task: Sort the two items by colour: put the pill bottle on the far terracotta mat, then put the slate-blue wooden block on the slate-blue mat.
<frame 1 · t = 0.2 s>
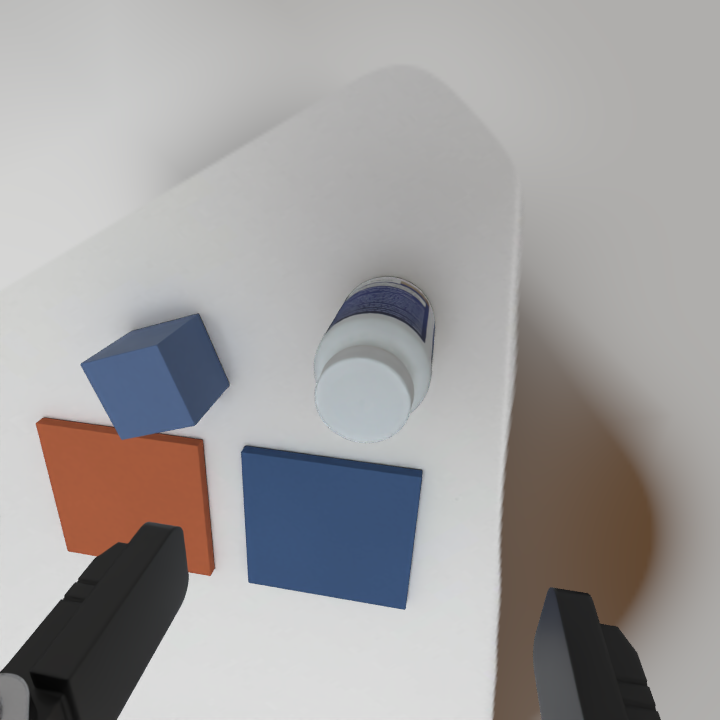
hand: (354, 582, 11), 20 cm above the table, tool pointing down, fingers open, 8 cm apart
blue block: (180, 358, 33), on the table
pill bottle: (388, 319, 30), on the table
blue mat: (329, 527, 37), on the table
terracotta mat: (133, 496, 39), on the table
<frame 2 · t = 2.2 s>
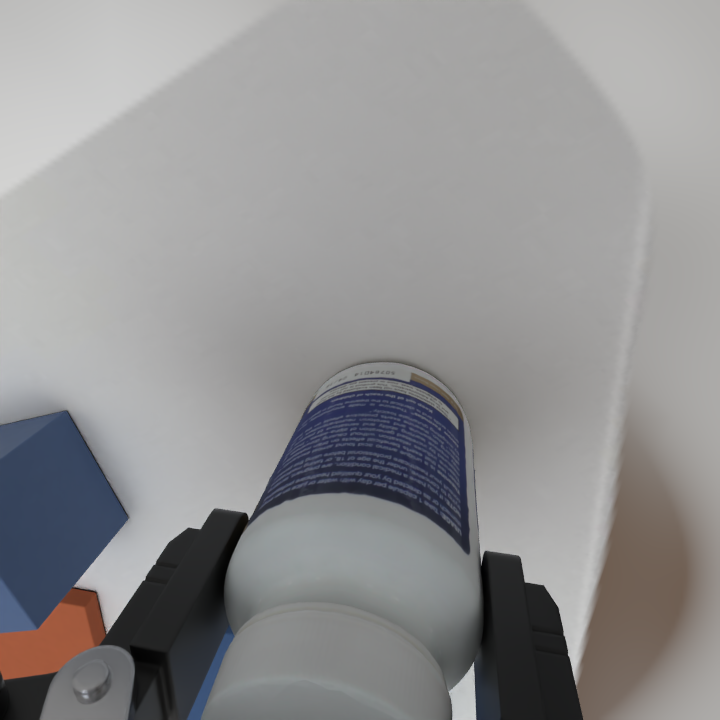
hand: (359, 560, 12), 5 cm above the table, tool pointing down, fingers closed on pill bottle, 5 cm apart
blue block: (47, 476, 20), on the table
pill bottle: (387, 429, 17), on the table, touching gripper
blue mat: (297, 717, 24), on the table
terracotta mat: (5, 658, 26), on the table
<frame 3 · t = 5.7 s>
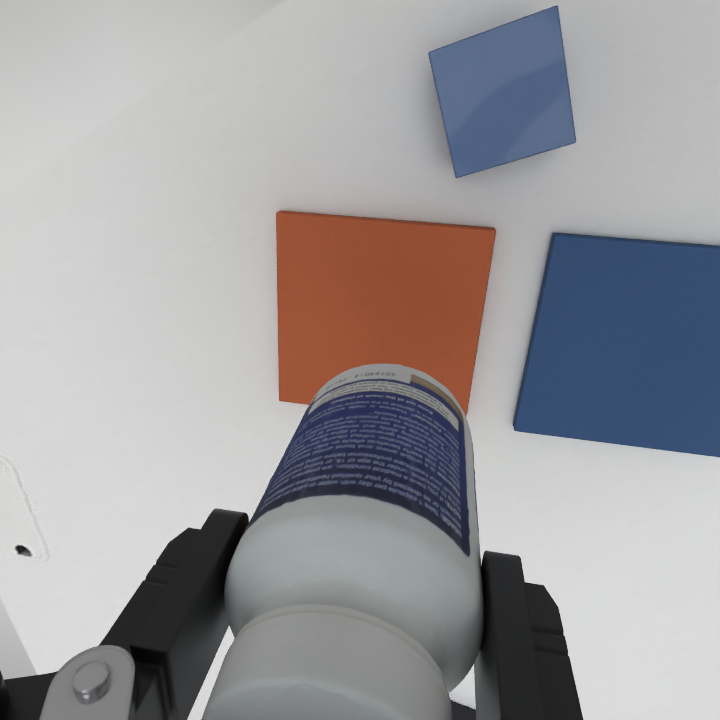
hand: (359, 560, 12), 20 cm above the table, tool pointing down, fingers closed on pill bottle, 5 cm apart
blue block: (494, 102, 25), on the table
pill bottle: (387, 430, 17), point 15 cm above the table, touching gripper
blue mat: (639, 347, 29), on the table
terracotta mat: (377, 320, 31), on the table
when the fingers open (6 cm above the table, at t = 9.4 s): pill bottle stays where it is, resting on terracotta mat.
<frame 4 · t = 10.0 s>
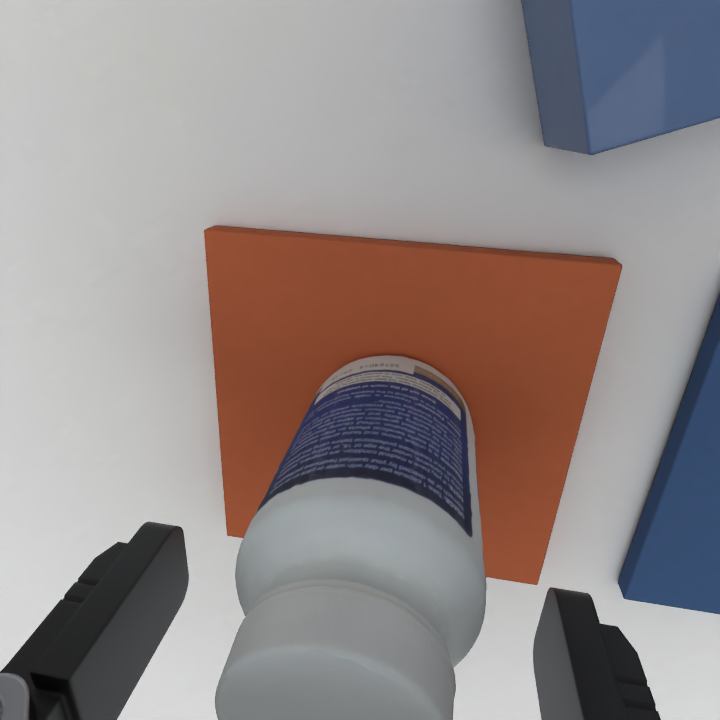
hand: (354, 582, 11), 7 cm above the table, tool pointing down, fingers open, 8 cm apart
blue block: (635, 5, 12), on the table
pill bottle: (391, 421, 17), point 1 cm above the table, touching terracotta mat
terracotta mat: (390, 414, 18), on the table
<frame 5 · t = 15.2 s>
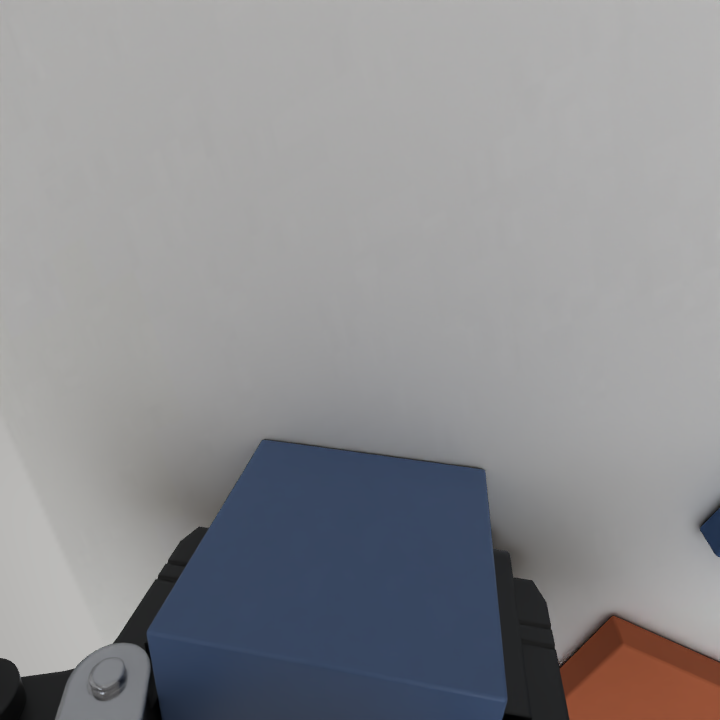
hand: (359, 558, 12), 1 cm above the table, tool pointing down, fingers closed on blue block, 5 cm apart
blue block: (364, 539, 12), on the table, touching gripper
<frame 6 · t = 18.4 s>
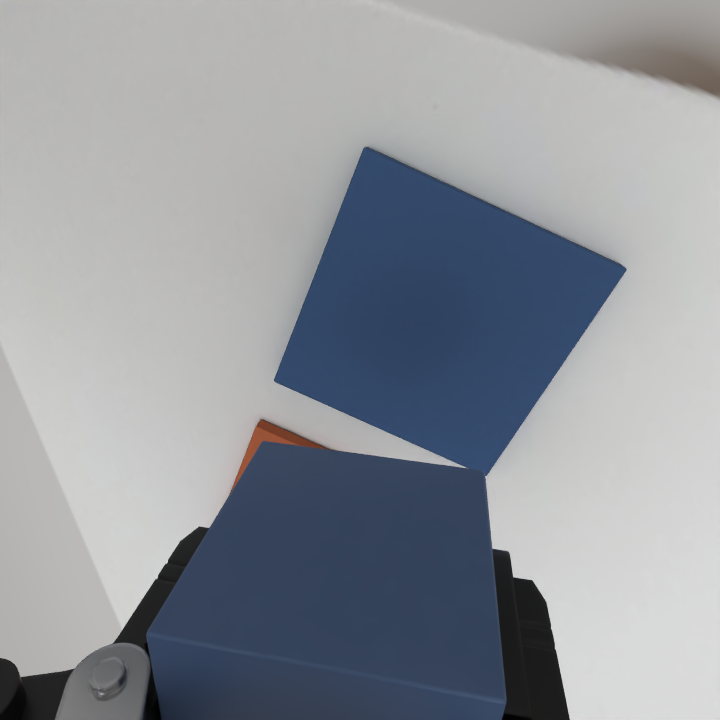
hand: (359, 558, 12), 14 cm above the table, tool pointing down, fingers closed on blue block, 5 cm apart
blue block: (364, 540, 12), point 14 cm above the table, touching gripper
blue mat: (432, 325, 25), on the table
terracotta mat: (322, 535, 31), on the table
when the fingers open (1 cm above the table, at t = 21.8 s): blue block stays where it is, resting on blue mat.
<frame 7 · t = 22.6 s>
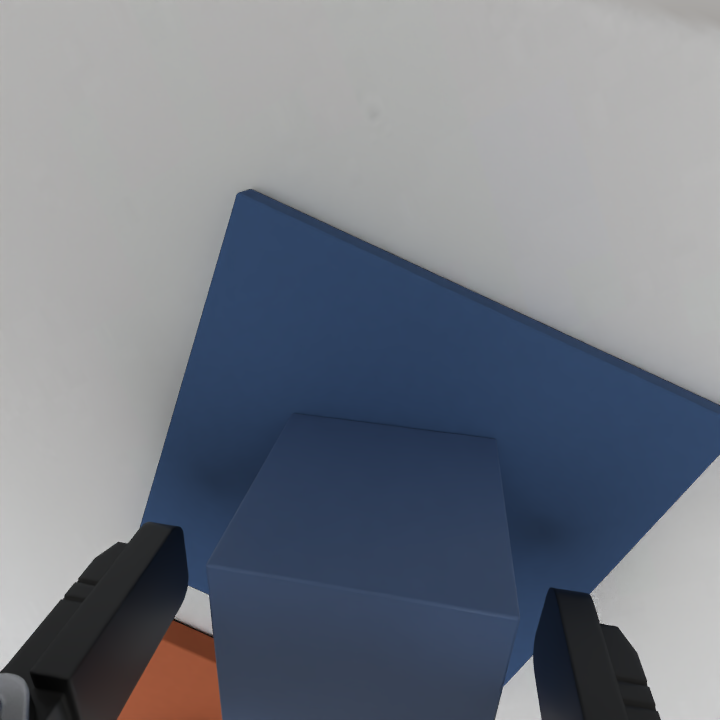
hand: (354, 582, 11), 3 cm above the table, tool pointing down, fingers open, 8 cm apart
blue block: (384, 506, 14), point 1 cm above the table, touching blue mat
blue mat: (385, 487, 14), on the table
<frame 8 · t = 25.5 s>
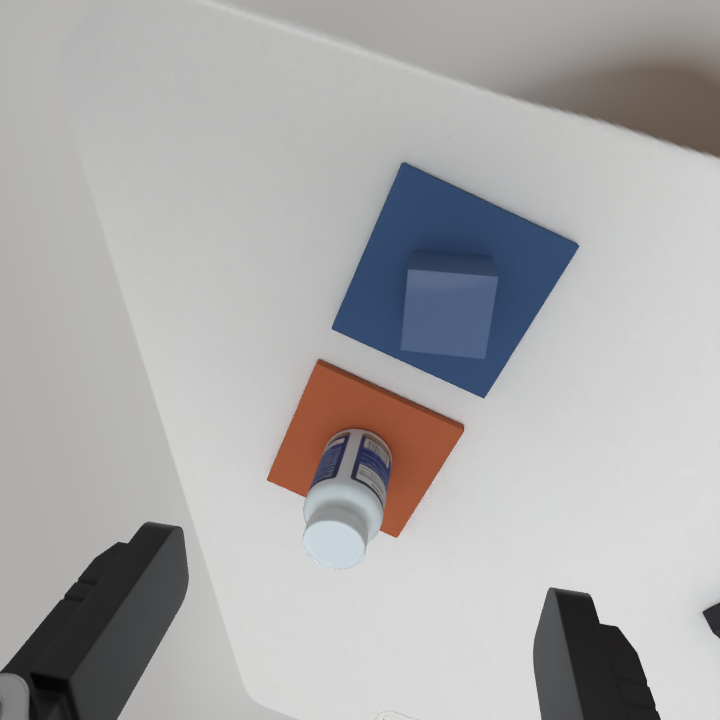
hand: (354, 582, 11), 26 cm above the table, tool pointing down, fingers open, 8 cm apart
blue block: (447, 290, 34), point 1 cm above the table, touching blue mat
pill bottle: (359, 454, 41), point 1 cm above the table, touching terracotta mat
blue mat: (446, 287, 35), on the table
terracotta mat: (361, 451, 41), on the table
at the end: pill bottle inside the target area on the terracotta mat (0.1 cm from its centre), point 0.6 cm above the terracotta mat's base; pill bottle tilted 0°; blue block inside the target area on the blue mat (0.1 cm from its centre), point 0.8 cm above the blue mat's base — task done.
